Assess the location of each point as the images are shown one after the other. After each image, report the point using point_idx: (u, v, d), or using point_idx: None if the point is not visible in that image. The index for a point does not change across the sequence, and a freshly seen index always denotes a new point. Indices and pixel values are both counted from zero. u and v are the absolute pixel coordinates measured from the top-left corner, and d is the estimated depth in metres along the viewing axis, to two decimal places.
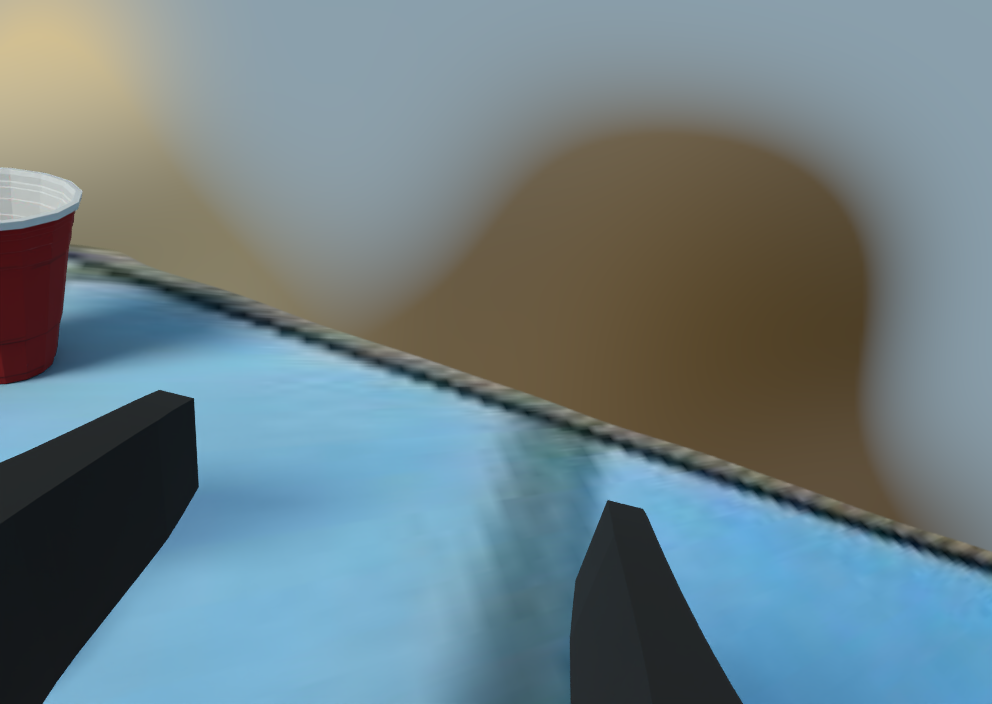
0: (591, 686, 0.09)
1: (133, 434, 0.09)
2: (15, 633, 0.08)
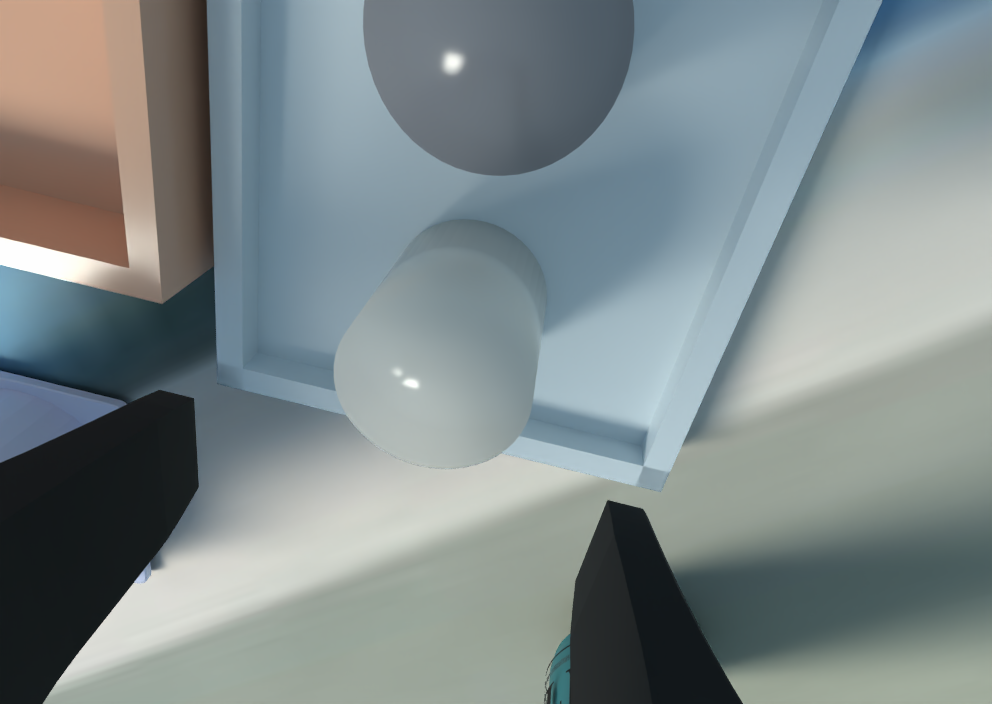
0: (590, 687, 0.09)
1: (134, 434, 0.09)
2: (15, 633, 0.08)
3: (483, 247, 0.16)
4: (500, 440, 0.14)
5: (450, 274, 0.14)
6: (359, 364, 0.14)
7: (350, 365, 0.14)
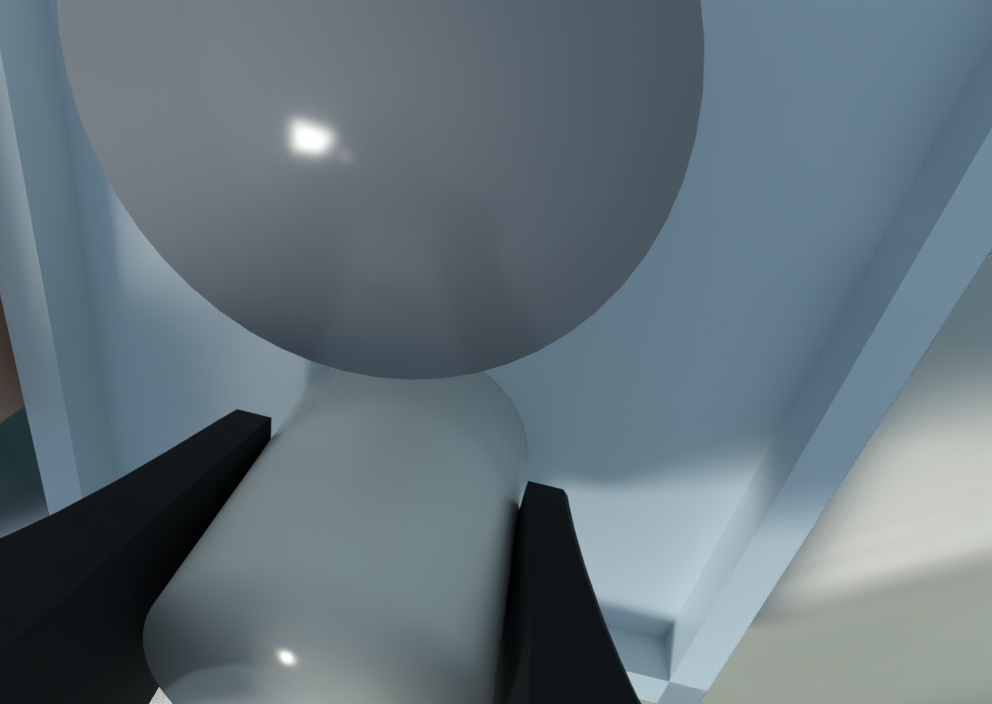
0: (500, 663, 0.09)
1: (223, 456, 0.09)
2: (119, 659, 0.08)
3: (418, 407, 0.10)
4: None
5: (347, 486, 0.08)
6: (186, 648, 0.08)
7: (171, 648, 0.08)
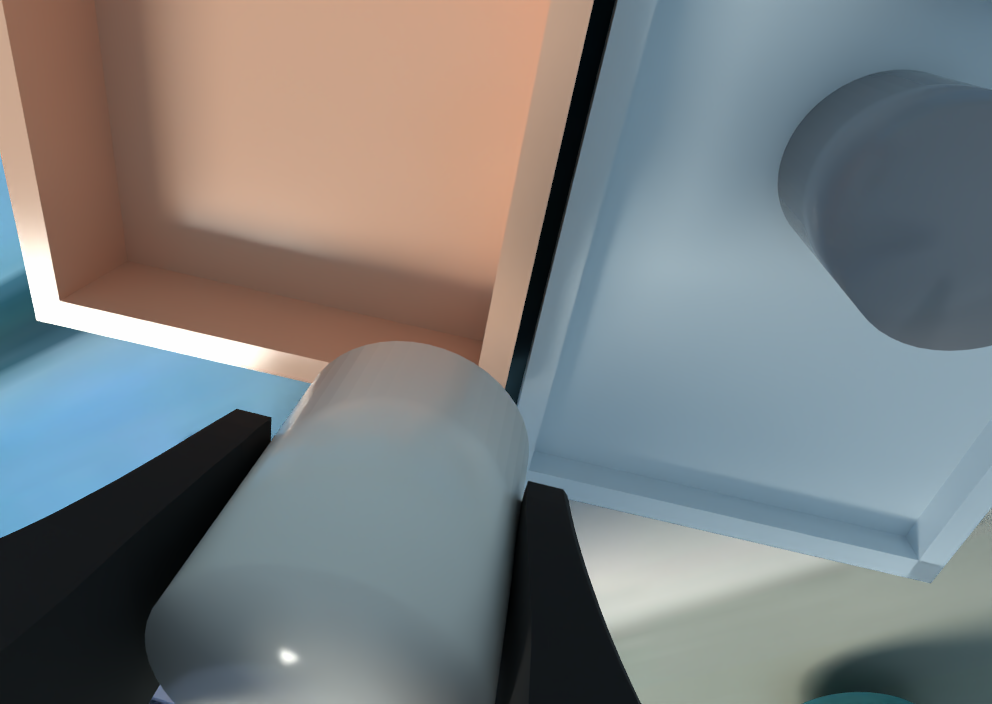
0: None
1: (223, 456, 0.09)
2: (119, 659, 0.08)
3: (417, 406, 0.10)
4: None
5: (345, 486, 0.08)
6: (188, 649, 0.08)
7: (173, 649, 0.08)
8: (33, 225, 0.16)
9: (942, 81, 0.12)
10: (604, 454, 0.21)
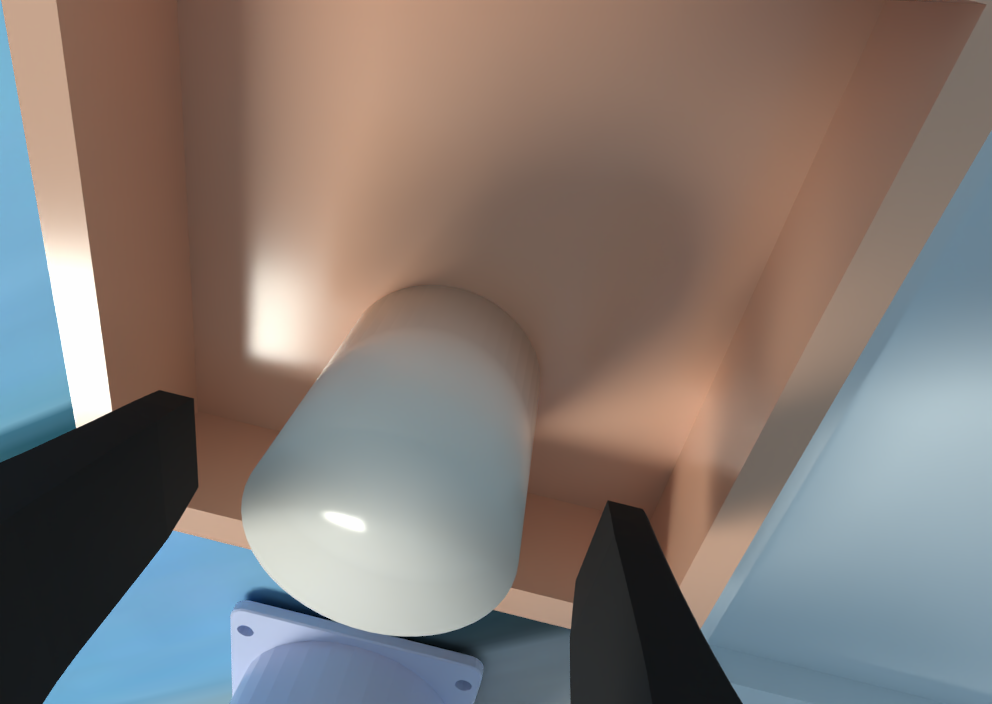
0: (591, 686, 0.09)
1: (133, 434, 0.09)
2: (15, 633, 0.08)
3: (450, 329, 0.12)
4: (476, 605, 0.10)
5: (400, 380, 0.10)
6: (276, 511, 0.10)
7: (263, 512, 0.10)
8: (96, 407, 0.12)
9: None
10: (776, 647, 0.17)
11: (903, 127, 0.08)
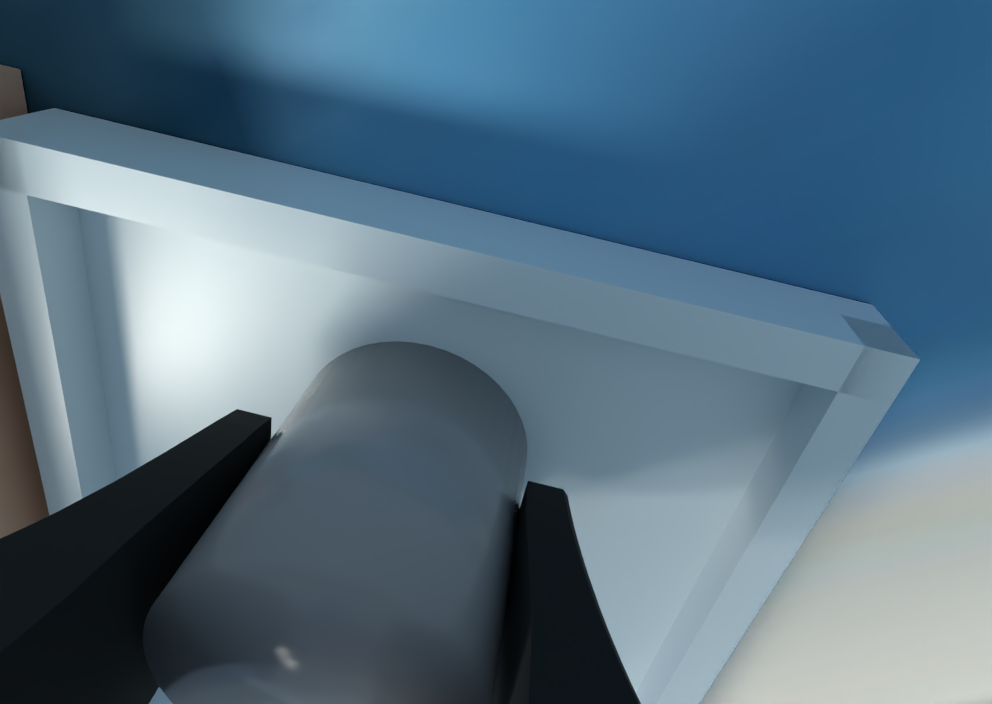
0: (500, 663, 0.09)
1: (224, 455, 0.09)
2: (119, 659, 0.08)
3: None
4: None
5: None
6: None
7: None
8: None
9: (363, 409, 0.09)
10: None
11: None
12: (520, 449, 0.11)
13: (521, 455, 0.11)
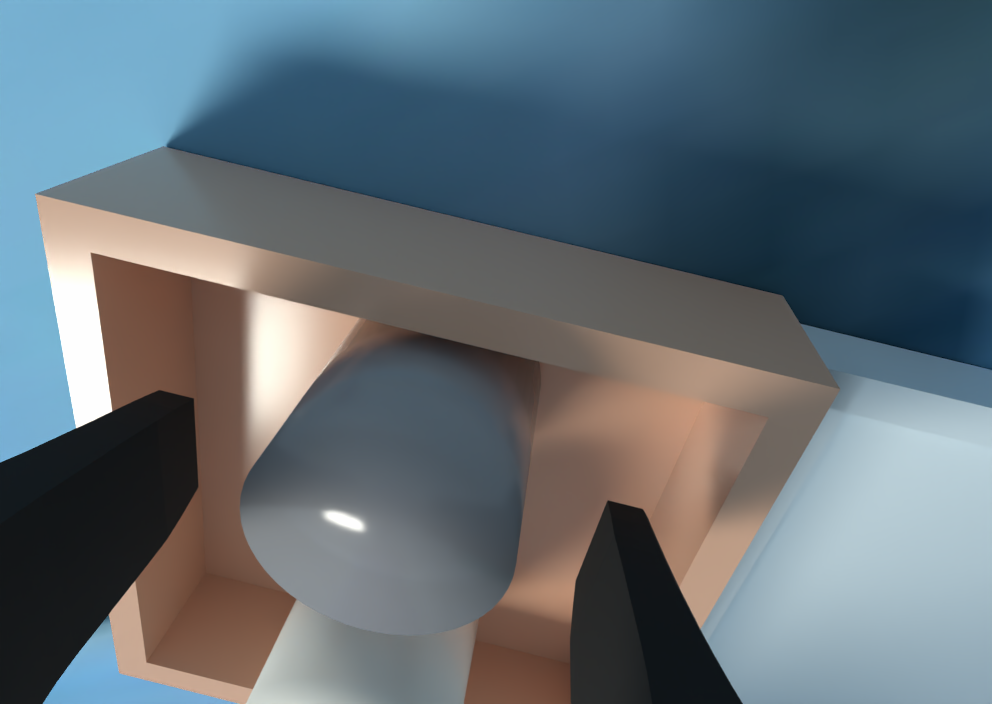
0: (590, 686, 0.09)
1: (133, 434, 0.09)
2: (15, 633, 0.08)
3: None
4: None
5: None
6: None
7: None
8: (126, 607, 0.15)
9: (408, 330, 0.11)
10: None
11: (729, 467, 0.11)
12: (535, 374, 0.13)
13: (536, 380, 0.13)
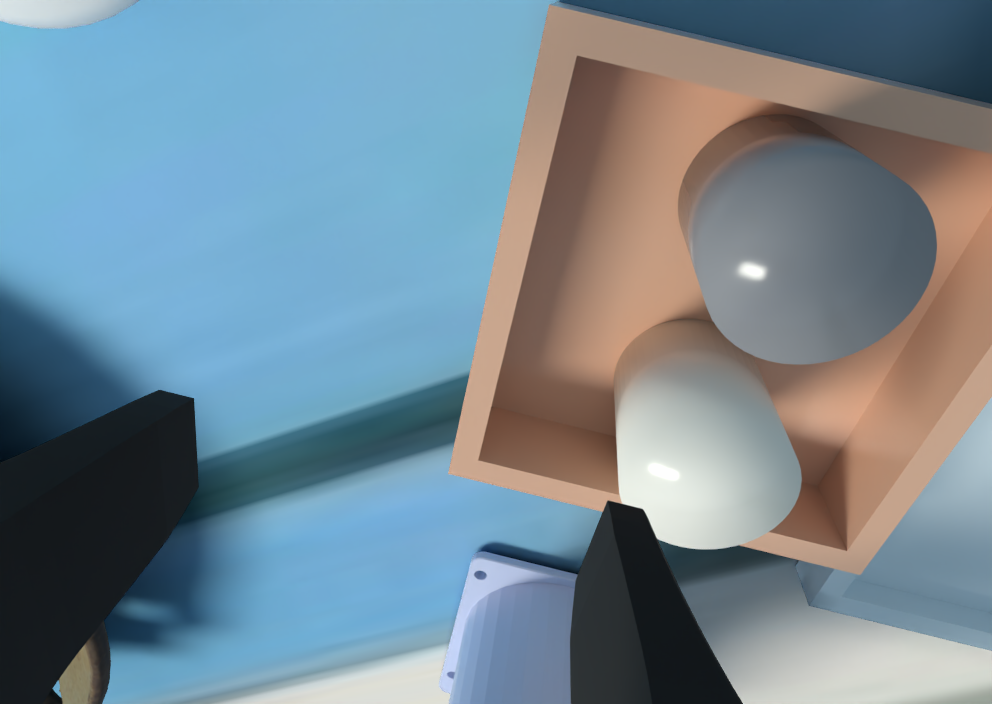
0: (590, 686, 0.09)
1: (134, 434, 0.09)
2: (15, 633, 0.08)
3: (724, 351, 0.18)
4: (762, 526, 0.16)
5: (720, 385, 0.16)
6: (645, 466, 0.16)
7: (637, 467, 0.16)
8: (480, 402, 0.18)
9: (800, 130, 0.14)
10: (902, 580, 0.23)
11: None
12: None
13: None
